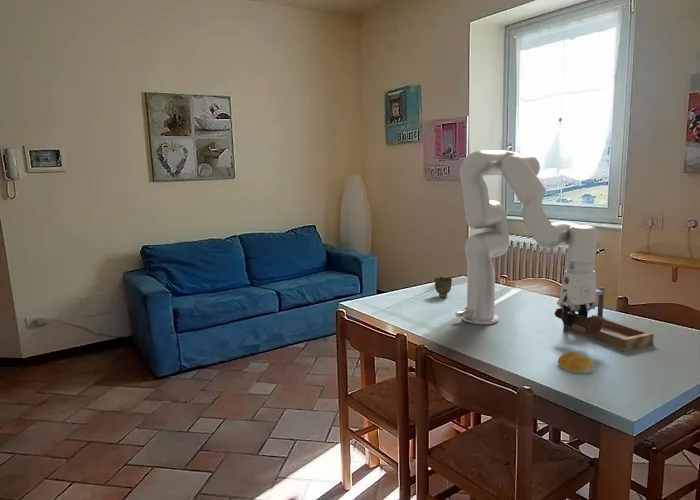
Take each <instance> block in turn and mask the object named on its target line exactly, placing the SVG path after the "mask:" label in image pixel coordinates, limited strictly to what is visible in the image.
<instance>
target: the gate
mask: <svg viewBox="0 0 700 500" xmlns="http://www.w3.org/2000/svg"><path fill="white" fill-rule="evenodd" d="M599 295H603V291H601V290H599V289H598V288H596V297H597V296H599ZM578 309H580V305H577V306H574V308H573V310H574V311H575V313H578ZM595 309H596V301H595V302H594V303H593V304H592V306H591V307H590V310H595Z"/></svg>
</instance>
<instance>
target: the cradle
mask: <svg viewBox="0 0 700 500" xmlns="http://www.w3.org/2000/svg"><path fill="white" fill-rule="evenodd" d="M598 290H601V291H603V295H598V297H597V298H598V300H597V302H598V303H597V314H592V315H591V317H592V316H598V317H599V318H600V319H601V321H602V328H601V330H600V332H599V333H597V334H594V335H590V334H587V331H586V329H585V328H584V327H581V326H579V325H576V324H573V325H572V326H571V327H570V326H567V325H565V324H563V323H562V325H563V326H562V327H563V328H562V329H563V332H564V333H567V332H569V331H570V332H573V333H575V334H578V335H580V336H583V337H586V338H588V339H591V340H594V341H596V342H598V343H601V344H605V345H606V346H609V347H611V348H612V347H613V348H614V349H617V350H620V351H623V352H628V351H632V350H638V349H641V348H646V347H650V346H654V340H655V339H654V336H655V333H652V332H650V331H646V330H644V329H640V328H638V327H637V328H636V327H635V326H630V325H628V324H624V323H621V322H618V321H615V320H612V319H609V318H606V317H603V316H604V315H603V313H604V299H605V297H604V296H605V287H603V286H602V287H601V286H599V287H598ZM564 303H565V302H564ZM569 306H570V305H568V308H569Z"/></svg>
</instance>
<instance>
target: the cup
mask: <svg viewBox="0 0 700 500" xmlns="http://www.w3.org/2000/svg"><path fill="white" fill-rule="evenodd" d="M433 280H434V281H433V282H434V288H435V289H434V290H435V291H436V293H438V296H439V298H447V297H448V294H449V293H450V292H451V290H452V282H453V278H451V277H450V276H448V277H447V276H445V277H444V276H438V277H436V276H435V277H434V279H433Z"/></svg>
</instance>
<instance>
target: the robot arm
mask: <svg viewBox="0 0 700 500" xmlns="http://www.w3.org/2000/svg"><path fill="white" fill-rule="evenodd" d="M459 168H460V169H459V177H460V178H459V179H460V184H461V188H462V194H463V204H464V213H465V220H466V224H467V225H468V227H470V228H471V229H473V230H481V229H482V230H483V229H484V231H483V232H478V233H477V232H476V233H475V234H472V235H470V236H469V237H468V238H467V240H466V241H465V244H464V252H465V257H466V258H465V259H466V267H467V271H466V272H467V274H466V276H467V283H466V284H467V287H466V289H467V290H466V292H467V293H466V295H467V298H466V301H467V303H466V304H467V305H466V306H465V307H464V309H463V310H461V311H460V310H459V311H456V312H455V317H456V318H460V317H462V320H463V321H464V322H466V323H469V324H473V325H480V326H481V325H483V326H485V325H487V326H488V325H493V324H496V323H497V322H499V315H497V314H495V303H496V302H495V299H496V296H495V295H496V290H495V288H496V287H495V286H496V269H495V266H494V263H493V259H492V258H496V257H500V256H503V255H504V254H506V253H507V251H508V250H509V246H510V236H509V235H510V234H509V227H508V226H509V225H508V215H507V211H506V209H505V207H504V206H503V205H502V203H501V202H500V201H497V200H490V197H489V188H488V186H487V183H486V181H485V180H484V177H485V176H495V175H496V176H503V178H504V180H505V181H506V183H507V184H508V185H509V188H510V189H511V190H512V191H513V193H514V195H515V196H516V197H517V199H518V201H519V202H520V204H521V214H522V219H523V223H524V225H525V227H526V229H527V231H528V232H529V234H530V236H531V237H532V238H533V240H534V241H535V242H536V244H538V245H539V246H540V247H541V248H543V249H547V250H548V249H549V250H551V249H555V248H558V247H565V246H567V257H566V264H565V269H566V270H565V271H564V274H563V277H562V283H561V290H560V297H559V299H558V300H557V302H556V305H557V306H558V307H559V308H561V309H562V311H563V312H564V317H563V321H562V325H563V324H565V325H567V326H570V327H571V326H572V325H573V314H572V311H573V308H574V306H577V305H580V309H578V312H577V314H579V315H582V316H585V317H589V316H588V313H589V312H590V310H591V309H590V307H591V306H592V304H593V303H594V302H595V303H596V302H597V301H596V300H597V298H598V297H597V296H596V289H597V273H596V271H595V260H596V259H595V258H596V251H597V238H598V229H597V228H596V227H595V226H592V225H587V224H586V225H585V224H575V223H572V222H568V221H557V222H556V221H555V222H551V221H550V218H548V216H547V215H546V213H545V210H544V208H543V198H544V197H545V195H546V194H547V190H546V189H547V188H545V186H544V184H543V183H542V182H541V180H540V179H539V177H538V175H539V172H540V170H541V167H540V162H539V160H538V159H537V158H536V157H535V156H534V155H531V154H530V153H529V154H528V153H521V152H520V153H519V152H514V151H507V150H500V149H498V150H497V149H495V150H491V149H483V150H476V151H474V152H471V153H469V154H468V155H467V156H466V157H464V159H463V161H462V162H461V165H460V167H459ZM564 302H565V303H564ZM568 305H570V306H569V308H568Z"/></svg>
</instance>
